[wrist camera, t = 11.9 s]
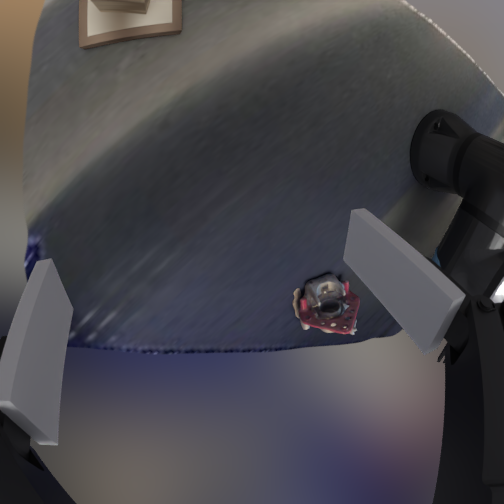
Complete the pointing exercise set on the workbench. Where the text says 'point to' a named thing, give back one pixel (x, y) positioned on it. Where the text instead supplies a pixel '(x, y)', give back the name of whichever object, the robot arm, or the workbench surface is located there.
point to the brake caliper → (327, 305)
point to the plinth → (127, 23)
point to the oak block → (122, 6)
